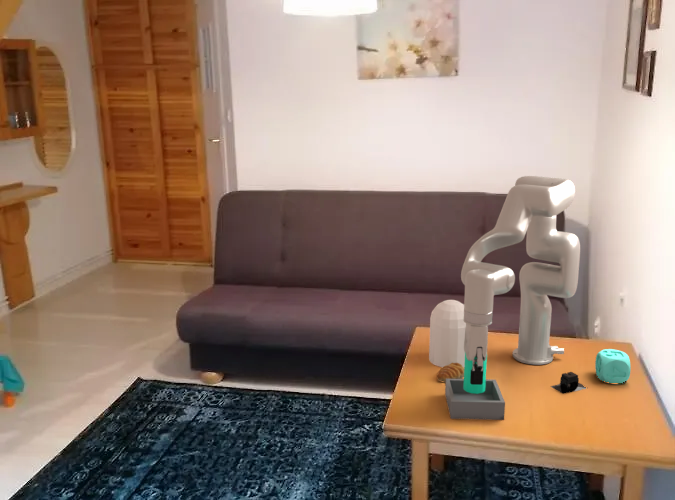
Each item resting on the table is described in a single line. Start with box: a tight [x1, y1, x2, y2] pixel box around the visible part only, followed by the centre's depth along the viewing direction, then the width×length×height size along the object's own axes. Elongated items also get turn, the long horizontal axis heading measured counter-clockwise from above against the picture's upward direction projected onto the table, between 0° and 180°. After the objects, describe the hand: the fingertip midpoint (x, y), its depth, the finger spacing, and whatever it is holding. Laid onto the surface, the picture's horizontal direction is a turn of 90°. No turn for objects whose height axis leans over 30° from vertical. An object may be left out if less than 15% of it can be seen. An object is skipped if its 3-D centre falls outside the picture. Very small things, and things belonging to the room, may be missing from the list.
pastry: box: [436, 363, 464, 383], centre depth 201 cm, size 9×7×4 cm
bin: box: [444, 378, 506, 421], centre depth 182 cm, size 14×14×5 cm
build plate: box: [550, 371, 587, 395], centre depth 194 cm, size 12×7×5 cm, turn 113°
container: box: [428, 299, 466, 368], centre depth 212 cm, size 14×13×20 cm
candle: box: [463, 353, 488, 394], centre depth 180 cm, size 6×6×12 cm
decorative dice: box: [594, 348, 632, 384], centre depth 199 cm, size 8×8×8 cm
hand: (474, 378), depth 181 cm, fingers closed on candle, 4 cm apart
